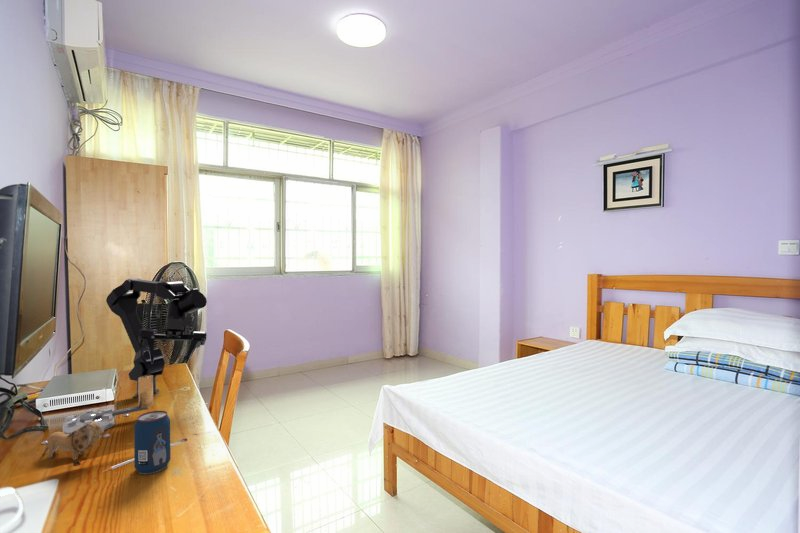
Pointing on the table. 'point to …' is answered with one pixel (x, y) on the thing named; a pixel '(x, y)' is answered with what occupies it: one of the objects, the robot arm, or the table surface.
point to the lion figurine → (75, 440)
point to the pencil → (133, 458)
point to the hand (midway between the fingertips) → (169, 363)
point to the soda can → (152, 442)
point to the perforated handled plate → (107, 415)
